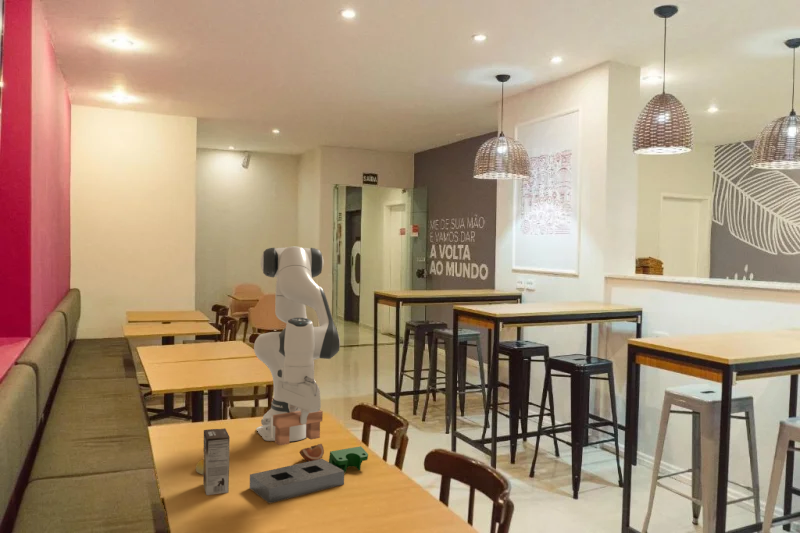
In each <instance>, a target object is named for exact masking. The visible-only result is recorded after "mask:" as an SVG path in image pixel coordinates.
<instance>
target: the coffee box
mask: <svg viewBox="0 0 800 533" xmlns="http://www.w3.org/2000/svg"><path fill="white" fill-rule="evenodd" d="M203 459H204V465H203V474H202V475H203V483H202V484H203V488H204V492H205V495H206V496H211V495H218V494H219V495H221V494H227V493H229V491H230V490H229V489H230V488H229V487H230V486H229V482H230V478H229V477H230V434H229V432H228V431H227V429H226V428H212V429H211V428H210V429H203Z"/></svg>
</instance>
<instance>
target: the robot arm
mask: <svg viewBox="0 0 800 533" xmlns="http://www.w3.org/2000/svg"><path fill="white" fill-rule="evenodd" d="M324 265H325V260H324V256H323V253H322V252H321V250H320V249H319V248H314V247H310V248H309V247H301V246H298V245H296V246H295V245H293V246H287V247H277V248H276V247H269V248H267V249H265V250H264V251H263V253H262V255H261V257H260V268H261V270H262V274H264V275H265V276H266V277H269V278H276V283H275V298H274V299H275V303H274V305H275V307H274V308H275V309H274V310H275V311H274V314H275V316H276V318H277V319H278V320H279V321H281V322H283V323H285V324H286V325H285V328H284V329H282V330H281V331H271V332H270V331H269V332H266V333H262V334H259V335H258V336H257V337H256V339H255V341H254V344H253V352H254V355H255V356H256V358H257V359H258V360H259V361H261V362H262V363H263V364H265V365H266V366H267V369H269V371H270V373H271V377H272V382H273V398H271V406H270V409H268V410H267V412H266V413H264V414H263V417H262V418H261V421H260V422H261V423H260V424H261V425H260V426H258V427H256V428H255V431H256V430H257V431H258V432H257V431H256V432H257V434H259V435H260V436H262V437H261V438H262V439H263V441H268V442H269V441H270V442H272V441H273V442H275V426H273V415H277V414H283V413H289V412H296V411H300V412H301V416H300V417H299V423H301V424H303V425H298V426H292V427H290V436H289V442H296V441H301V440H304V439H307V437H306V423H307V416H308V414H309V413H312V412H318V411H319V410H321V407H322V404H321V402H322V401H321V390H320V387H319V385H318V384H317V382H316V380H315V360H319V359H322V360H325V359H328V360H330V359H332V358H333V357H334V356H336V355H337V354H338V353H339V351H340V347H341V338H340V335H339V332H338V329H337V327H336V324H335V322H334V319H333V315H332V312H331V309H330V305H329V301H328V299H327V296H326V293H325V291H324V289H323V287H322V286H320V285H318V284H317V283H316V282H315V280H314V278H315V277H319V275H320V274H322V271H323V269H324ZM306 306H308V307H309V308H311V309H313V310H314V312H315V313H316V316H317V319H318V324H319V326H314V323H313V321H312V320H311V319H310V318H308V316H307V315H308V314H307V308H306Z"/></svg>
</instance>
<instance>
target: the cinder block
mask: <svg viewBox="0 0 800 533" xmlns="http://www.w3.org/2000/svg"><path fill="white" fill-rule="evenodd" d="M344 484H345V473H344V471H343V470H342V469H340V468H338V467H336V466H334V465H333V464H331V463H329V461H327V460H325V459H324V458H321V459H318V460H314V461H306V462H305V461H304V462H300V463H297V464H291V465H287V466H283V467H278V468H274V469H269V470H265V471H264V470H263V471H260V472H255V473H252V474H251V473H250V474H249V489H250V490H251V491H253V492H254V493H255V494H257V495H258V496H259V497H261V498H262V499H263V500H265V502H267V503H268V504H272V503H276V502H281V501H284V500H288V499H291V498H297V497H300V496H304V495H308V494H311V493H315V492H319V491H323V490H327V489H331V488H335V487H336V488H337V487H339V486H342V485H344Z"/></svg>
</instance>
